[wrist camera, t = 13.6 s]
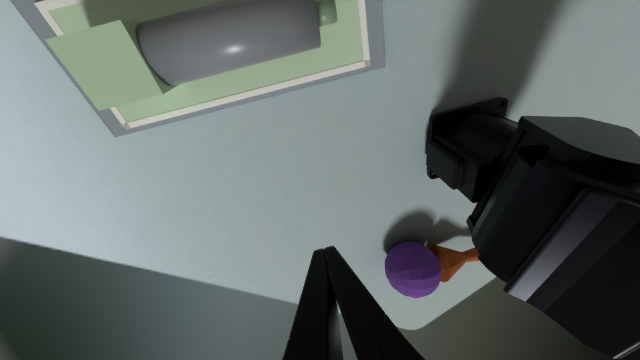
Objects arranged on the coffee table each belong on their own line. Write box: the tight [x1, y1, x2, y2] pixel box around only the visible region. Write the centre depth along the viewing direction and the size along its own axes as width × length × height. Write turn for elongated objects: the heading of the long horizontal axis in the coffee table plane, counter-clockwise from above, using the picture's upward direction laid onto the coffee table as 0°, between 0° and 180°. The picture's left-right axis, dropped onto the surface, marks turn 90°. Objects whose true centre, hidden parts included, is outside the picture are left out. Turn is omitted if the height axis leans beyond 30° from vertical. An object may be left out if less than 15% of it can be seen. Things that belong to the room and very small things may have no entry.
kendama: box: [385, 242, 480, 298], centre depth 28 cm, size 6×6×20 cm
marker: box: [45, 0, 337, 111], centre depth 13 cm, size 14×3×3 cm, turn 102°
